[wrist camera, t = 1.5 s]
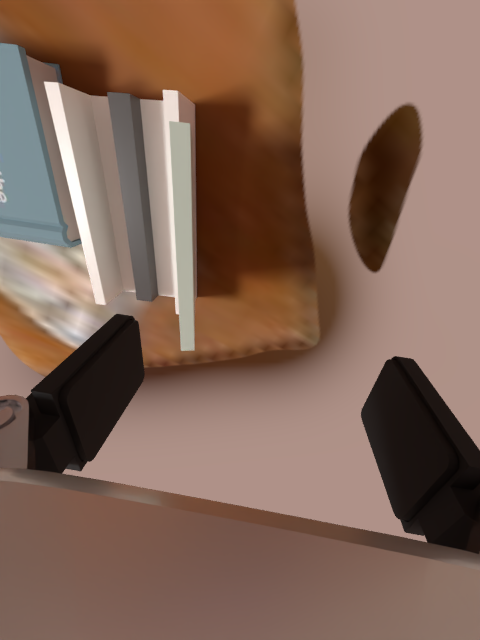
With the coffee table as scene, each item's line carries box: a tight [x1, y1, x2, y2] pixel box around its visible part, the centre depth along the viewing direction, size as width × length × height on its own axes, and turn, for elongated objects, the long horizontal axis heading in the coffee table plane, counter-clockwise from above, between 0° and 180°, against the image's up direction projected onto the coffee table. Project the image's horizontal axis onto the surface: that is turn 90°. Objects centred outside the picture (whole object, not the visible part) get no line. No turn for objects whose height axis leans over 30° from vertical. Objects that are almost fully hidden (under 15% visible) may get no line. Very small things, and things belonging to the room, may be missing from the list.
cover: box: [169, 121, 195, 351], centre depth 21 cm, size 14×11×1 cm
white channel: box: [44, 82, 197, 314], centre depth 28 cm, size 20×11×5 cm, turn 176°
